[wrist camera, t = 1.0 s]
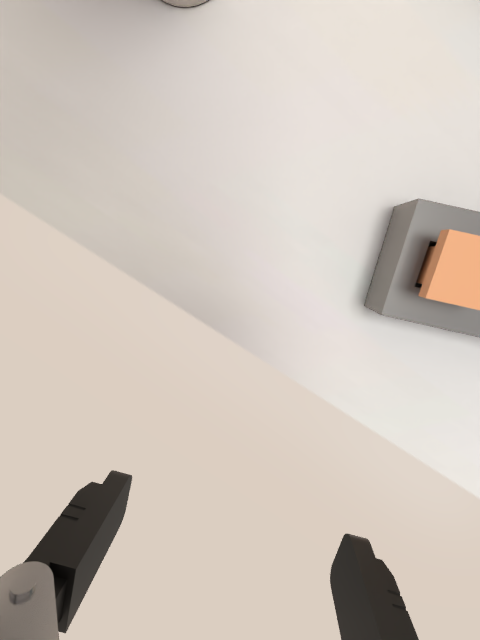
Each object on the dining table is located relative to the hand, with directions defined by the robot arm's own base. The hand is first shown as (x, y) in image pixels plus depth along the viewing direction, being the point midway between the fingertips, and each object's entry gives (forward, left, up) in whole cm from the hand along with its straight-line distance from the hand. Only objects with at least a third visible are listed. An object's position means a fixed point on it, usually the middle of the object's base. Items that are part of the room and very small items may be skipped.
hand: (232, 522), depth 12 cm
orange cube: (-11, +14, -20) cm, 27 cm away
